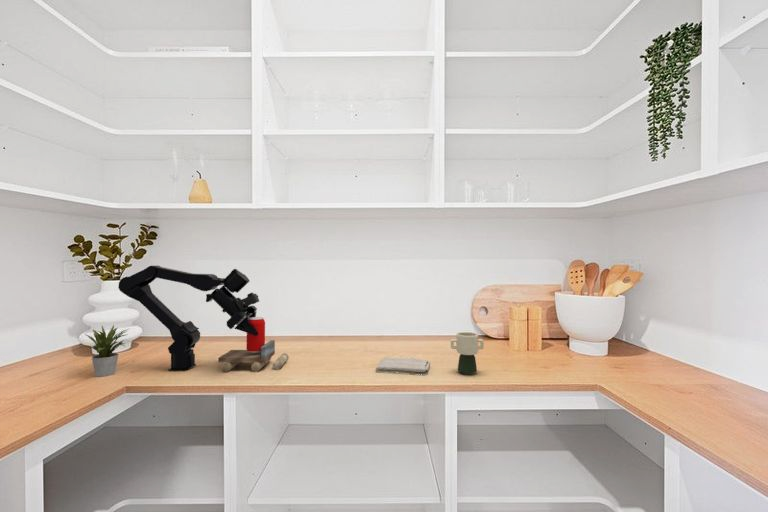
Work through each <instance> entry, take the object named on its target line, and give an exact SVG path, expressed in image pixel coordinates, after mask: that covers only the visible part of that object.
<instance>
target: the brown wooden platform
mask: <svg viewBox="0 0 768 512" xmlns="http://www.w3.org/2000/svg"><path fill="white" fill-rule="evenodd" d="M275 342H276V340H273V339H270V340H269V341H267V343H266V342H265V345H264V346H262V347H261V352H259V353H250V352H248V351H247V349H230V350H229V351H227V352H225V353H224V354H222V355H220V356H219V357H218V358H217V359H218V360H217V361H218V362H217V363H222V365H221V367H220V368H221V370H222V371H223V373H228V372H230V371H231V370H232V369H234V368H235V367H236V366H238V365H239V364H241V363H252V364H251V367H250V368H251V371H253V372H254V373H256V372H257V373H258V372H259V371H260V370H261V369H262V368H263V367H264V366H266V364H267V363H269V362H270V361H271V360H272V357H273V356H274V355H275V354H276V353H275V352H276V351H275V349H276V348H275V347H276V343H275Z"/></svg>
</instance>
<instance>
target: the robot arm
mask: <svg viewBox="0 0 768 512" xmlns="http://www.w3.org/2000/svg"><path fill="white" fill-rule="evenodd" d="M155 279H162V280H165V281H171V282H174V283H175V282H176V283H180V284H186V285H188V286H190V287H192V288H193V289H196V290H198V291H202V292H209V291H212V292H211V293H206V294H205V296H206V298H205V302H206V303H209V302H212V301H214V302H215V303H216V304H217V305H218V306H219V307H220V308H221V312H223V313H226V314H227V315H229V317H230V318H229V319H228V320H227V321H226V326H227V328H229V330H232V329H234V330H238V331H241V332H244V333H246V334H247V333H249V334H252V335H255V336H257V335H258V334H259V333H258V332H257V330H256V329H255V328H254V326H253V325H252V324H251V322H250V321H249V318H251V317H257V310H258V308H257V307H256V306H255V305H254V304H256V303H259V302H260V299H259V295H258V294H257V293H254V292H250V293H248V294H247V295H246V297H244V298H242V299H241V298H240V297H236V296H235V295H234V294H233V293H239V292H241V290H242V289H244V287H245V286H247V284H249V283H250V279H249V277H248V276H247V275H245V273H242V272H241V271H240V270H238V269H237V268H233V269H232V270H231V272H230V273H228V275H227V276H226V277H224V278H222V277H221V278H220V277H218V276H217V274H214V273H192V272H187V271H183V270H177V269H174V268H168V267H163V266H160V265H149V266H147V267H146V268H144V269H142V270H140V271H138V272H136V273H134V274H131V275H130V276H125V277H122V278H121V279H120V280H119V282H118V290H119V291H120V292H121V293H122V294H124V295H125V296H127V297H129V298H131V299H133V300H135V301H138V302H139V303H140V304H141V305H143V307H144V308H145V309H147V311H149V313H151V314H152V315H153V316H154V317H155V318H156V319H157V321H159V322H160V323H161V324H162V325H163V326H164V327H166V329H168V331H169V333H170V336H171V338H172V340H173V342H172V343H171V344H170V345H169V346H168V347H167V350H168V353H169V354H170V368H168V370H167V371H171V372H172V371H175V372H176V370H177V372H178V371H179V370H180V371H181V370H182V371H183V372H184V371H185V370H186V371H189V370H190V369H192V368H194V367H196V358H195V357H196V354H195V353H194V351H195V350H194V349H195V347H196V344H197V343H198V342H199V341H200V339H201V332H200V331H199V329H200V328H199V327H197V326H196V325H195V324H194V322H192V321H191V320H189V321H187V322H184V321H182V320H181V319H180V318H179V317H178V316H177V315H176V314H175V313H173V311H172V310H170V308H168V307H167V305H165V303H163V302H162V301H161V300H160V299H159V298H158V297H157V296H156V295H155V294H154V292H153V291H152V288H151V286H150V284H151V283H153V282H154V281H155ZM218 286H221V287H220V288H218Z"/></svg>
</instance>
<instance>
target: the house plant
mask: <svg viewBox="0 0 768 512" xmlns="http://www.w3.org/2000/svg"><path fill="white" fill-rule="evenodd" d="M117 329H118V327H116V328H115V324H113V325H112V327H111V328H110V330H109V331H108V333H106V330H105V328H104V326H103V325H101V331H98V330H97V331H96V329H92V332H93V336H94V337H92V336H91V335H88V334H86V333H84V335H85V336H86V337H88V338H89V339H90V340H91V341H92V342H93V343H94V344H95V345H93V346H91V345H83V346H81V347H80V348H90V349H93V350H95V351H96V352H97V354H95V355H92V356H91V360H92V365H93V371H94V375H95V377H97V378H99V377H101V378H102V377H109V376H112V375H114V374H115V373H116V371H117V370H116V368H117V364H118V359H119V353H118V352H114V351H115V350H116V349H118V348H119V347H120V346H123V347H125V348H127V346H126V343H124V342H123V341H126V340H127V341H128V339H123V340H121V341H117V340H118V339H119V338H121V337H125V336H128V335H129V333H128V332H129V331H128V330H129V328H128V329H127V328H126V329H124V330H121V331H119V332H117ZM116 332H117V333H116ZM126 332H127V334H126ZM94 338H95V339H94Z"/></svg>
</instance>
